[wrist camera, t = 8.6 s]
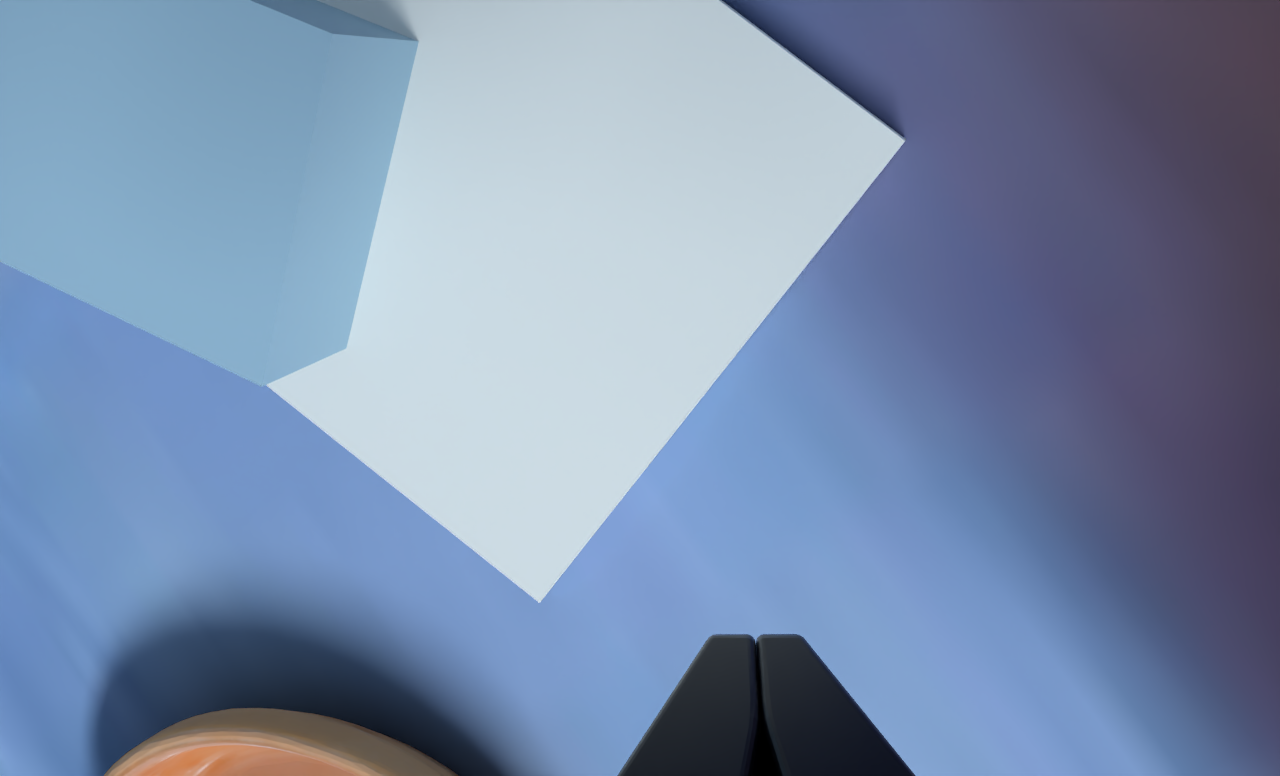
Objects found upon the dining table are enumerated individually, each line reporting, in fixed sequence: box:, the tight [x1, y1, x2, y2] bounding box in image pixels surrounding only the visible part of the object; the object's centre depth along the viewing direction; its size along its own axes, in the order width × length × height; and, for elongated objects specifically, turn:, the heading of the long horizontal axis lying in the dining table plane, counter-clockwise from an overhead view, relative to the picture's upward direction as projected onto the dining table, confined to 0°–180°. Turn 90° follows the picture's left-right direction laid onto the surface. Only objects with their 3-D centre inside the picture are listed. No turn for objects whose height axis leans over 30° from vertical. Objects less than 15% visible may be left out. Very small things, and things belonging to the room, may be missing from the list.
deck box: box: [0, 0, 419, 387], centre depth 19 cm, size 3×7×8 cm
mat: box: [267, 0, 906, 603], centre depth 20 cm, size 14×13×1 cm
